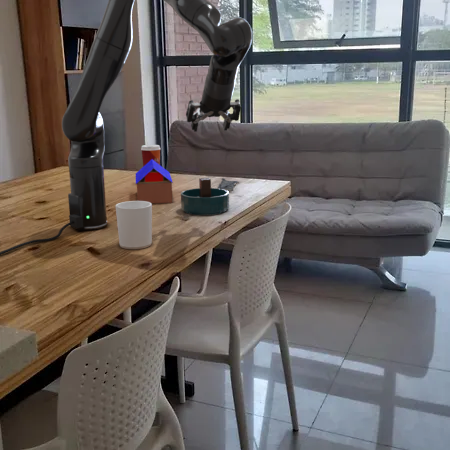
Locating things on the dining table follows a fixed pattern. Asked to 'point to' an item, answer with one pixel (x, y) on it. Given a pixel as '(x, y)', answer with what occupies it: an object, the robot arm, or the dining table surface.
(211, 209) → the bowl
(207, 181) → the brown rectangular block
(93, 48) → the robot arm
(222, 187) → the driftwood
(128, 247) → the mug
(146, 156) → the paper cup
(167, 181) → the house
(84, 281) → the dining table surface
